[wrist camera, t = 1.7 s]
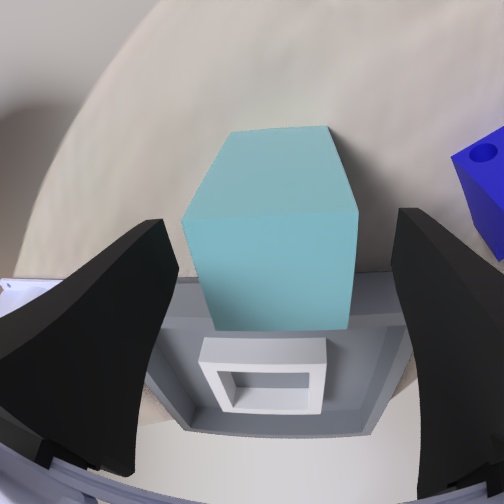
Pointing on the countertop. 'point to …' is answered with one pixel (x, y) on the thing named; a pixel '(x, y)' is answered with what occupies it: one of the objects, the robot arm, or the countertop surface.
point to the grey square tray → (281, 368)
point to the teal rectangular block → (275, 232)
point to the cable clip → (485, 187)
